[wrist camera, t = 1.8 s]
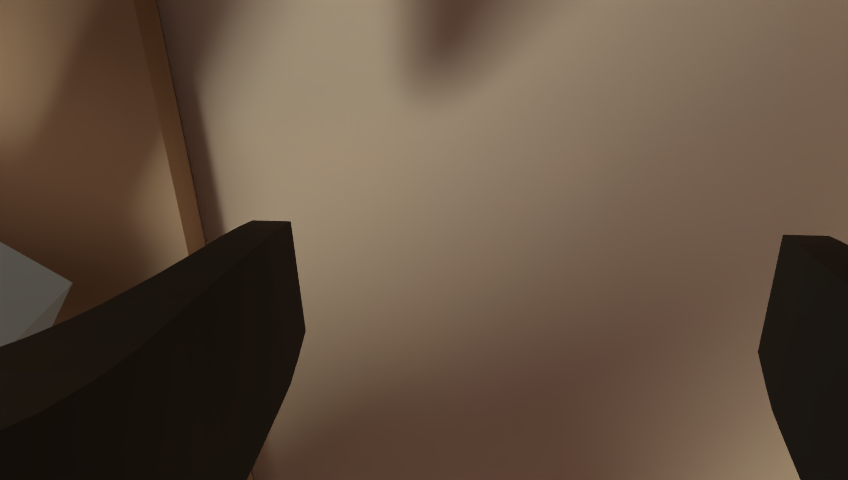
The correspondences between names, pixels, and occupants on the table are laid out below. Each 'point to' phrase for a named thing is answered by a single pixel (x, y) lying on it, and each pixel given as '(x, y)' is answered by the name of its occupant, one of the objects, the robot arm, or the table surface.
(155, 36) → the cradle
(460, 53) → the table surface
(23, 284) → the grey block
